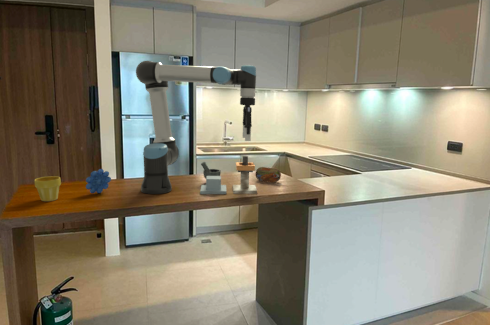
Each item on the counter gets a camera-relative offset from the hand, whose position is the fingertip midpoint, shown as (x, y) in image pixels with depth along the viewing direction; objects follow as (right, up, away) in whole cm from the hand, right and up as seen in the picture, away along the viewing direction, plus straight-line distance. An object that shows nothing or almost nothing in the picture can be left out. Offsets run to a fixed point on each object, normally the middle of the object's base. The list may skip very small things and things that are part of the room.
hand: (246, 139), depth 183 cm
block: (-17, -26, 0) cm, 31 cm away
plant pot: (-90, -29, -21) cm, 96 cm away
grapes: (-72, -27, -8) cm, 78 cm away
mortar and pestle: (-20, -23, +18) cm, 36 cm away
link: (-1, -15, 0) cm, 15 cm away
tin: (+13, -23, +24) cm, 36 cm away
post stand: (-1, -26, +2) cm, 27 cm away
